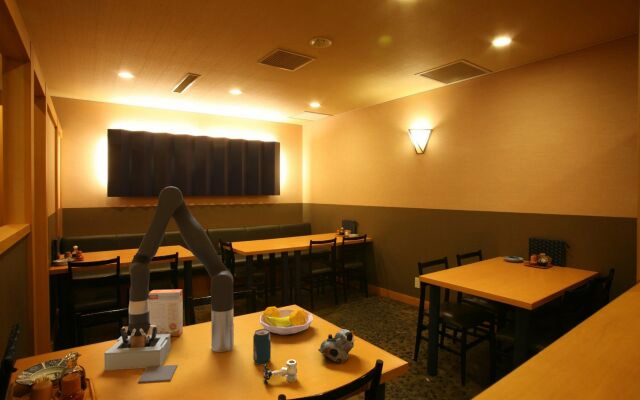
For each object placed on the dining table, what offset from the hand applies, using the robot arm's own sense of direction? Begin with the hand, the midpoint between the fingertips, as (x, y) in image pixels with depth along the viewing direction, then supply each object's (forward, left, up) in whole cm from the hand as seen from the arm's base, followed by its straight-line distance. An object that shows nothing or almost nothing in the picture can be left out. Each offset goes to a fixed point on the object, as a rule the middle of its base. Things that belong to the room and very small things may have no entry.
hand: (139, 351), depth 148 cm
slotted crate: (0, 0, -3) cm, 3 cm away
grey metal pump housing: (-80, +9, -3) cm, 80 cm away
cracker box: (-4, -25, -3) cm, 26 cm away
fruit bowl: (-60, -23, -3) cm, 64 cm away
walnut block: (0, 0, -1) cm, 1 cm away
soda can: (-49, +9, -3) cm, 50 cm away
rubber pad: (-11, +14, -3) cm, 18 cm away
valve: (-56, +25, -3) cm, 61 cm away
